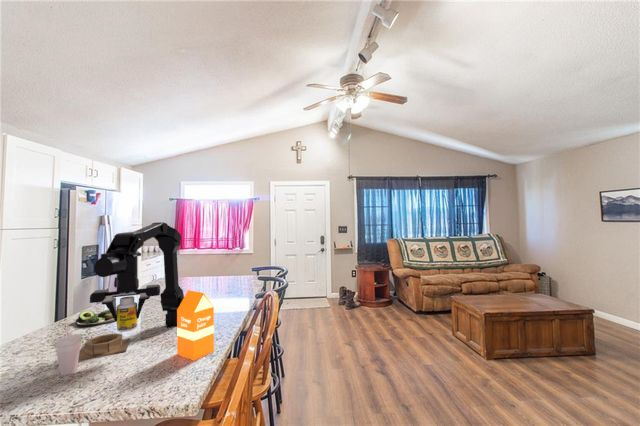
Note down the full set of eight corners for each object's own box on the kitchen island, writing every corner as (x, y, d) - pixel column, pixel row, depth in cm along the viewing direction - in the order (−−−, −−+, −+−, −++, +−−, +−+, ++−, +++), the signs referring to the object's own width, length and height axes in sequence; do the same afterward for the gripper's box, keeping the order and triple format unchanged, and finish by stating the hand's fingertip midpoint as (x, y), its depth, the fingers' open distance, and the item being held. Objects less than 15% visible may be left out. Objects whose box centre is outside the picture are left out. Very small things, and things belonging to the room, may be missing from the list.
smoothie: (65, 367, 89) (65, 320, 89) (88, 365, 90) (88, 319, 90) (47, 378, 83) (48, 327, 83) (72, 376, 83) (72, 326, 84)
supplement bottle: (116, 334, 92) (116, 300, 92) (117, 328, 97) (116, 297, 97) (137, 330, 95) (137, 298, 95) (137, 325, 100) (136, 294, 100)
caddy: (130, 339, 110) (130, 329, 110) (125, 351, 99) (125, 341, 99) (83, 347, 104) (83, 336, 104) (72, 361, 93) (72, 349, 93)
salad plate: (124, 311, 147) (124, 301, 147) (132, 319, 134) (132, 309, 135) (74, 320, 134) (74, 310, 134) (78, 330, 121) (78, 319, 121)
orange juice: (193, 360, 92) (193, 295, 92) (176, 354, 96) (176, 292, 97) (214, 350, 98) (214, 290, 99) (197, 345, 103) (197, 287, 104)
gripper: (160, 266, 108) (160, 309, 107) (97, 270, 100) (97, 317, 99) (159, 270, 98) (159, 317, 97) (89, 275, 90) (89, 327, 89)
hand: (127, 319), depth 96 cm, fingers closed on supplement bottle, 6 cm apart
